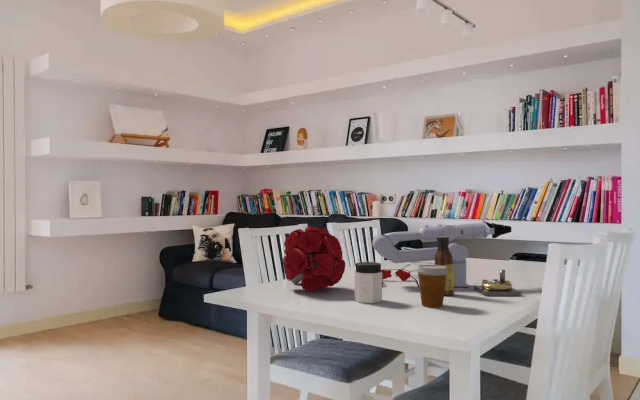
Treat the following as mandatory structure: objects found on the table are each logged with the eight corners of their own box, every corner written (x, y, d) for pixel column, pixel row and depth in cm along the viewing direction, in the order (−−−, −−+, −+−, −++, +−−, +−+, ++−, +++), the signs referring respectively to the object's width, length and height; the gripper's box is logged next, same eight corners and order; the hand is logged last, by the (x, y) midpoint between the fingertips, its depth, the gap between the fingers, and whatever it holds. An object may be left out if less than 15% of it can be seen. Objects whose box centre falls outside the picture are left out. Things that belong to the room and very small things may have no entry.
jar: (351, 302, 162) (351, 264, 162) (357, 297, 170) (357, 261, 170) (379, 304, 159) (379, 265, 159) (384, 299, 167) (384, 262, 167)
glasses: (410, 281, 206) (410, 268, 206) (419, 288, 190) (419, 274, 190) (375, 281, 206) (375, 268, 206) (382, 288, 189) (382, 275, 189)
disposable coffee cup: (414, 302, 162) (414, 264, 162) (444, 302, 162) (444, 264, 162) (419, 308, 153) (419, 268, 153) (451, 309, 153) (451, 268, 153)
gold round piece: (503, 291, 171) (503, 274, 171) (476, 287, 179) (476, 271, 178) (517, 287, 179) (517, 271, 179) (490, 284, 186) (490, 268, 186)
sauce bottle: (455, 293, 177) (455, 236, 177) (452, 296, 171) (452, 237, 171) (436, 292, 180) (436, 235, 180) (432, 295, 174) (432, 236, 174)
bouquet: (270, 305, 189) (299, 274, 166) (264, 247, 200) (290, 210, 177) (323, 304, 198) (358, 275, 174) (314, 249, 209) (346, 214, 186)
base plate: (484, 296, 173) (484, 291, 173) (474, 289, 185) (474, 285, 185) (520, 296, 173) (520, 291, 172) (507, 289, 185) (507, 285, 184)
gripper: (476, 221, 186) (513, 218, 186) (465, 219, 201) (500, 216, 200) (477, 240, 186) (515, 238, 186) (466, 237, 201) (501, 234, 201)
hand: (507, 228), depth 193 cm, fingers open, 7 cm apart
